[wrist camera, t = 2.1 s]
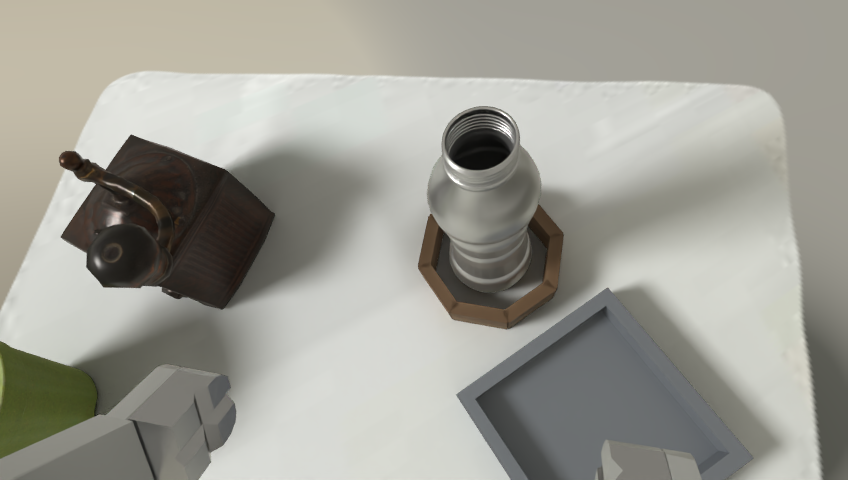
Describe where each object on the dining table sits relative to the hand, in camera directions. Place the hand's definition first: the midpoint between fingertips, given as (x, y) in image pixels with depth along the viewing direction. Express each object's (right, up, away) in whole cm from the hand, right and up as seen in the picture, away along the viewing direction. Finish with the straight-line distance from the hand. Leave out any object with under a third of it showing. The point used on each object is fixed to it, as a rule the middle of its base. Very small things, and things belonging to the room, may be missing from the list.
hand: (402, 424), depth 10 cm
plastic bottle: (+6, +2, +31) cm, 32 cm away
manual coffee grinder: (-18, +3, +35) cm, 40 cm away
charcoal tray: (+13, -10, +26) cm, 30 cm away
